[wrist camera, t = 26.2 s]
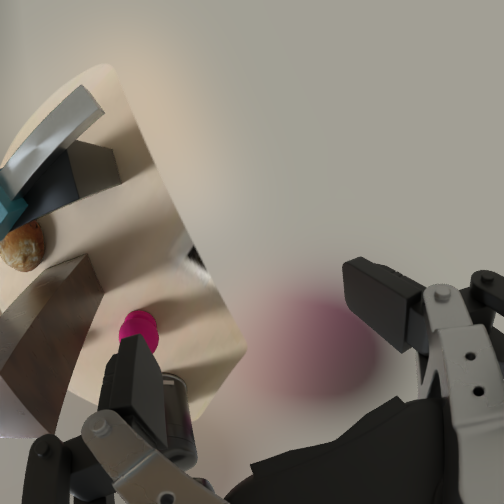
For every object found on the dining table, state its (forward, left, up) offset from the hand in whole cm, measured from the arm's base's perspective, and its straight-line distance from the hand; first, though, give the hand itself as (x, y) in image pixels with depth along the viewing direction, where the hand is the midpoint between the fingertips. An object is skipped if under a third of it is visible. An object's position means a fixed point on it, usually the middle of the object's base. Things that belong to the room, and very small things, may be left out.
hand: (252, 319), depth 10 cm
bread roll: (+4, +32, -38) cm, 50 cm away
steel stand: (+9, +15, -38) cm, 42 cm away
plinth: (-7, +25, -38) cm, 46 cm away
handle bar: (+11, +14, -16) cm, 24 cm away
